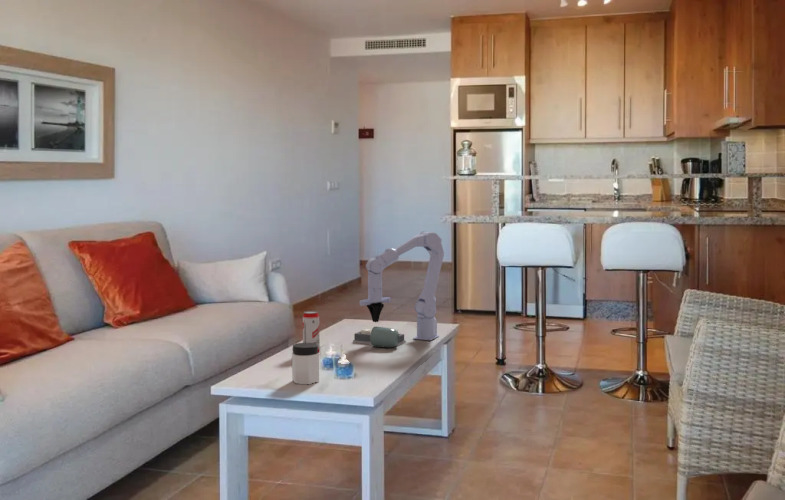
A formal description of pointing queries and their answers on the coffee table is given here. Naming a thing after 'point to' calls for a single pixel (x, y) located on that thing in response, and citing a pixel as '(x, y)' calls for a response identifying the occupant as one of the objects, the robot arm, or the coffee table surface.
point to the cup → (384, 337)
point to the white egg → (365, 331)
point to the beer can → (311, 328)
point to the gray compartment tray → (366, 338)
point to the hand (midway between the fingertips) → (375, 321)
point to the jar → (305, 363)
